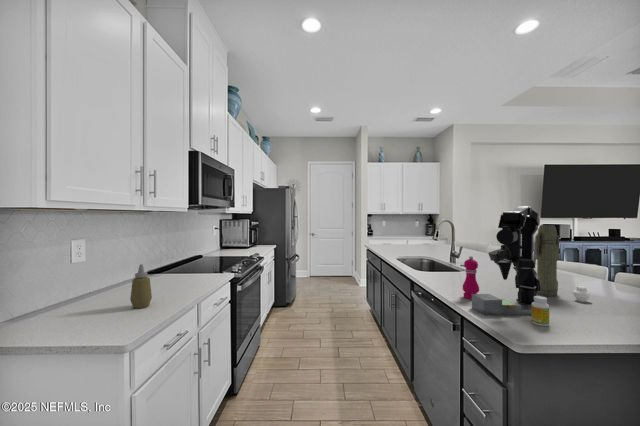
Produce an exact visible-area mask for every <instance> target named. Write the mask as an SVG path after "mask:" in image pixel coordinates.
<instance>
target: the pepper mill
mask: <svg viewBox="0 0 640 426" xmlns="http://www.w3.org/2000/svg"><path fill="white" fill-rule="evenodd" d="M463 265H464V268H465V271H464V272H465V279H464V282H463V284H462V291H463V298H464V299H468V300H472V294H479V292H480V286H479V284H478V281H477V279H476V277H477V276H476V275H477V273H478V272H477V271H478V270H477V269H478V268H479V267H478V266H479V264H478V261H477V260H475V259H474V257H473V256H472V255H470V256H468V259H466V260H465V261H464V263H463Z"/></svg>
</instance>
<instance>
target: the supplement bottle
mask: <svg viewBox="0 0 640 426" xmlns="http://www.w3.org/2000/svg"><path fill="white" fill-rule="evenodd" d="M534 301H535V302H532V304H530V306H531V315H530V316H531V319H530V320H531V323H532V324H534V325H536V326H541V327H548V326H550V305H549V304H548V298H547V297H545V296H542V295H537V296H534Z"/></svg>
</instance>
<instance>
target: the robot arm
mask: <svg viewBox="0 0 640 426" xmlns="http://www.w3.org/2000/svg"><path fill="white" fill-rule="evenodd" d="M540 220H541V219H540V216H539V213H538V212H537V211H535V210H533V207H532V206H529V205H520V206H517V207H516V208H515V209H513V210H511V211H508V210H507V211H505V210H504V211H503V212H502V213H501V215H500V218H499V222H498V229H500V230H499V231H498V232H497V233H496V237H495V238H496V240H497V242H499V244H501V245H500V248H499V249H495V250H492V251H490V252H488V256H489V259H490V261H491V262H494V264H496V265H497V266H498V268H499V270H500V273H501V276H502V280H504V281H507V279H508V276H509V273H510V271H511V267H512V269H513V270H514V271H515V273H516V274H515V275H514V276H515V278H514V283H515V284H514V285H515V289H518V291H517V298H516V299H515V300H516V301H517V302H518V303H524V304H527V305H532V302H535V301H534V296H538V294H537V291H541V286H540V281H539V279H538V278H537V270H535V269H536V262H535V261H534V235H535V234H536V232H538V229H539V226H540V225H541V224H540V223H541V221H540ZM512 265H513V266H512Z"/></svg>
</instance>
